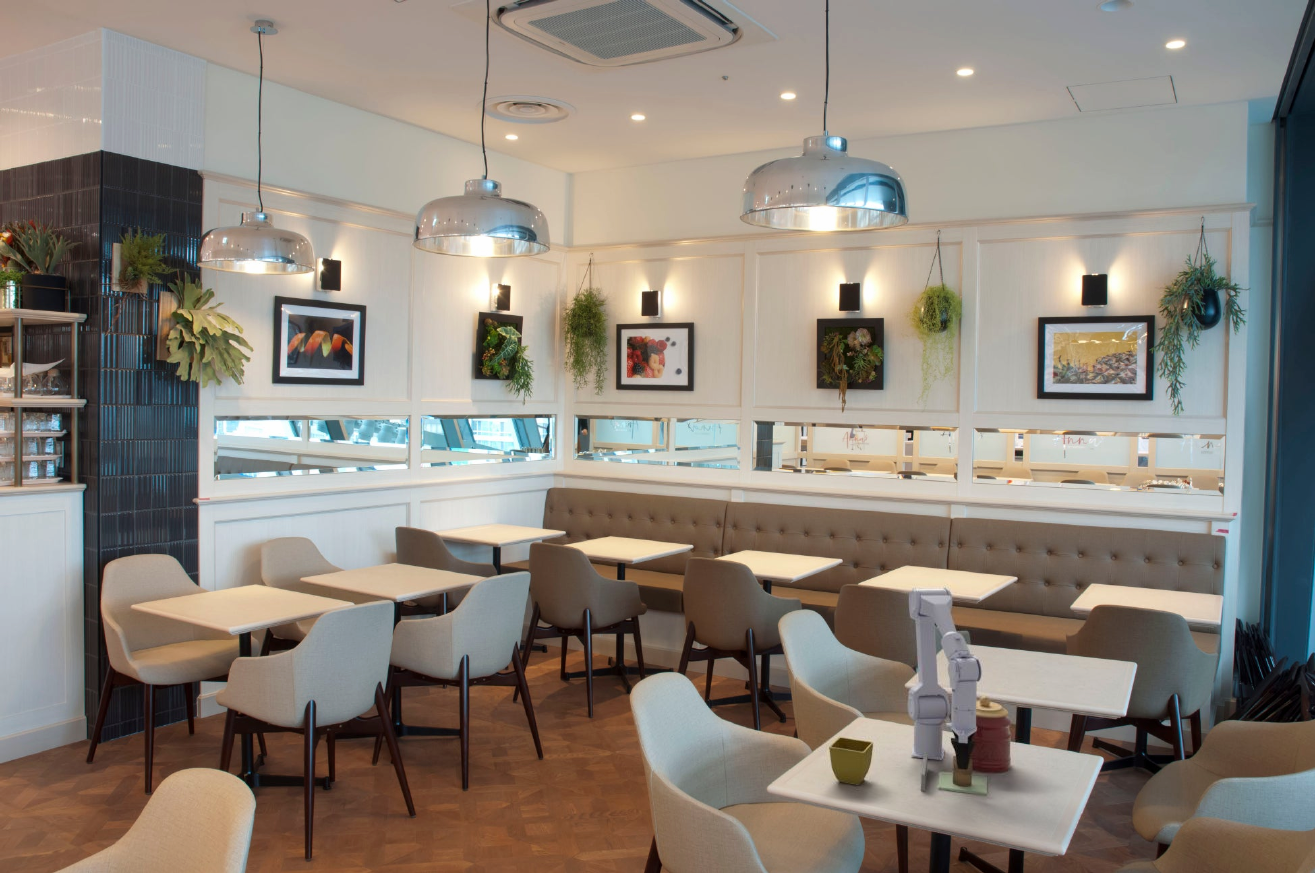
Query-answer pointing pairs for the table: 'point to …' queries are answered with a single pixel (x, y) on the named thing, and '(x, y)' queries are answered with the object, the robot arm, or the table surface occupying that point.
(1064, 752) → the table surface
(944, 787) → the green mat
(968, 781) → the walnut cylinder
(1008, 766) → the canister
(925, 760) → the grey wall
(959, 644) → the robot arm
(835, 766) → the flower pot
